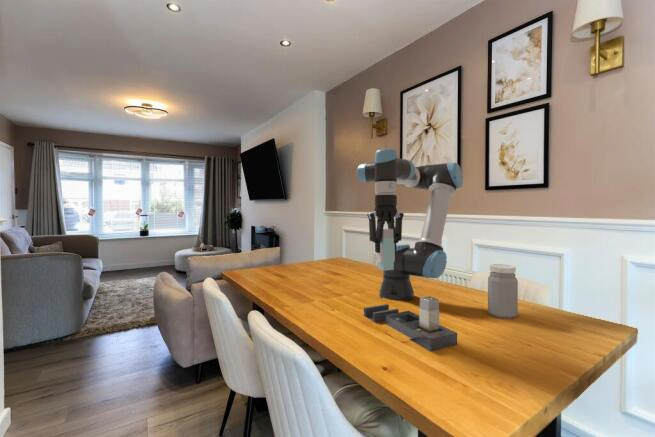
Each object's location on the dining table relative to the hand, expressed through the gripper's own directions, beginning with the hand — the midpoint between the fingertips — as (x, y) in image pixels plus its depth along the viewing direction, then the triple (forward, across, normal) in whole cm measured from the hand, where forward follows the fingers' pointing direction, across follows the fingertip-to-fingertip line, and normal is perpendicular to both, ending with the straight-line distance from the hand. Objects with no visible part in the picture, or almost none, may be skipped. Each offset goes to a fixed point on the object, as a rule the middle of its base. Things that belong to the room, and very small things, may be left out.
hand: (385, 261), depth 111 cm
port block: (+21, +3, -14) cm, 25 cm away
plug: (+3, 0, 0) cm, 3 cm away
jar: (+21, +43, -11) cm, 49 cm away
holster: (+21, 0, +3) cm, 21 cm away
